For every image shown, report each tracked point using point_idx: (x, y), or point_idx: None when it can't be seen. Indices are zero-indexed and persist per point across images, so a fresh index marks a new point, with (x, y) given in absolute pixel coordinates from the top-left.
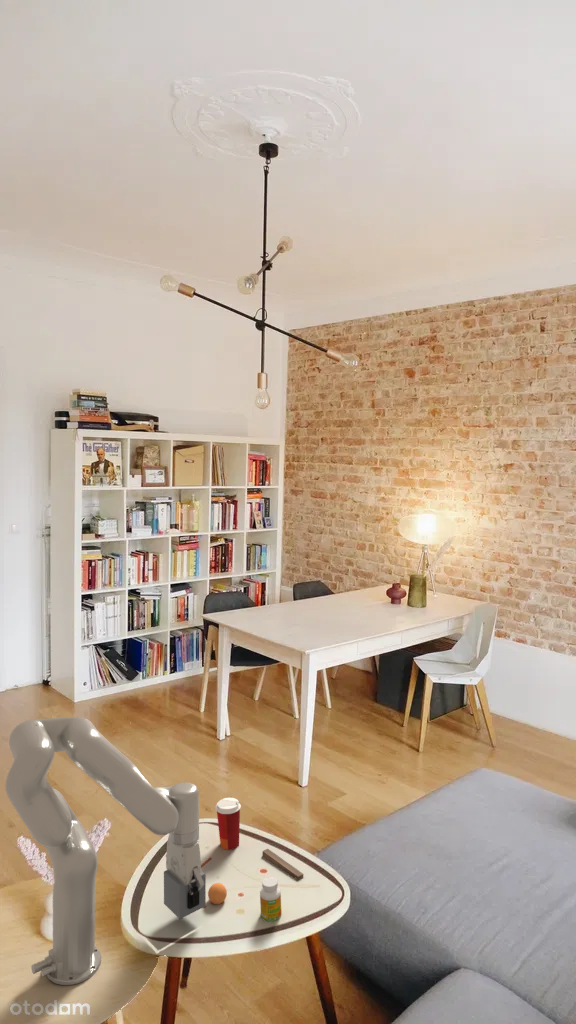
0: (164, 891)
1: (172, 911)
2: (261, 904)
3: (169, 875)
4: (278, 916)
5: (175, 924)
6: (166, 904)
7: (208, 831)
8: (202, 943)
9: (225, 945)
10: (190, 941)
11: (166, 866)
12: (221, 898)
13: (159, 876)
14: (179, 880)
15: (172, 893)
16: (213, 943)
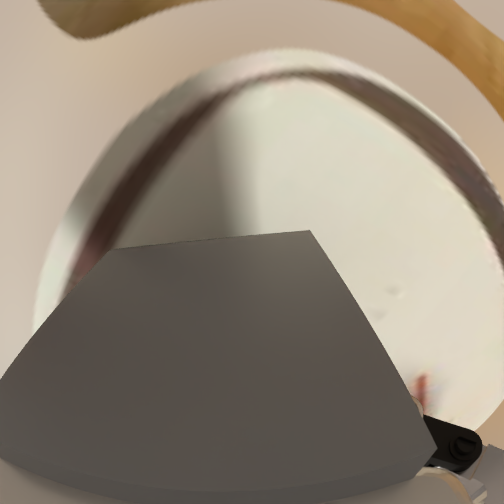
0: (326, 274)
1: (194, 242)
2: None
3: (258, 496)
4: None
5: (228, 234)
6: (277, 237)
7: (472, 426)
8: (64, 273)
9: (36, 324)
10: (91, 241)
11: (449, 499)
12: None
13: (488, 297)
14: (49, 488)
15: (164, 322)
16: (53, 302)
